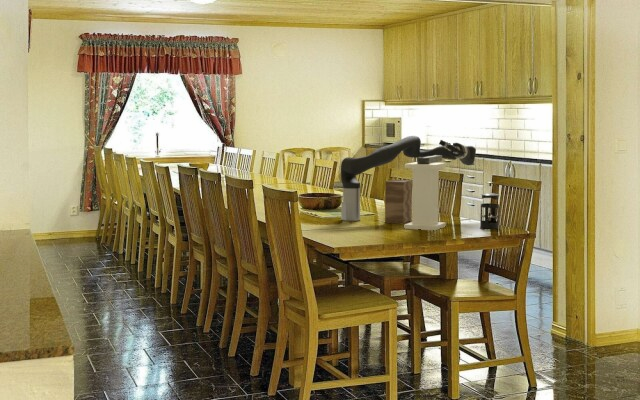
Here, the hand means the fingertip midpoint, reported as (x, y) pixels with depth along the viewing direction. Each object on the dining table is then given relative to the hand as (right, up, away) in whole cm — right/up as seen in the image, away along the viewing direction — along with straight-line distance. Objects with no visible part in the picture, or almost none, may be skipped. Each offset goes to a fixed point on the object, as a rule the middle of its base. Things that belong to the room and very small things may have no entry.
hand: (447, 145), depth 430 cm
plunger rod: (-10, -9, -11) cm, 18 cm away
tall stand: (-13, -42, -14) cm, 46 cm away
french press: (+18, -42, -17) cm, 49 cm away
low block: (-25, -39, +8) cm, 47 cm away
